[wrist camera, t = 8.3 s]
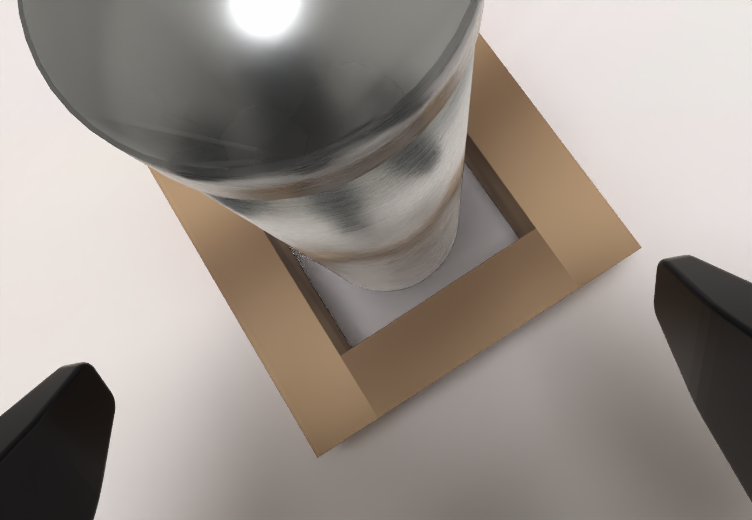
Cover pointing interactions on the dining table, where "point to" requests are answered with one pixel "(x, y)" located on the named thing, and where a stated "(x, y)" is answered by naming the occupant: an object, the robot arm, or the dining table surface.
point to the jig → (442, 310)
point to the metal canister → (284, 113)
